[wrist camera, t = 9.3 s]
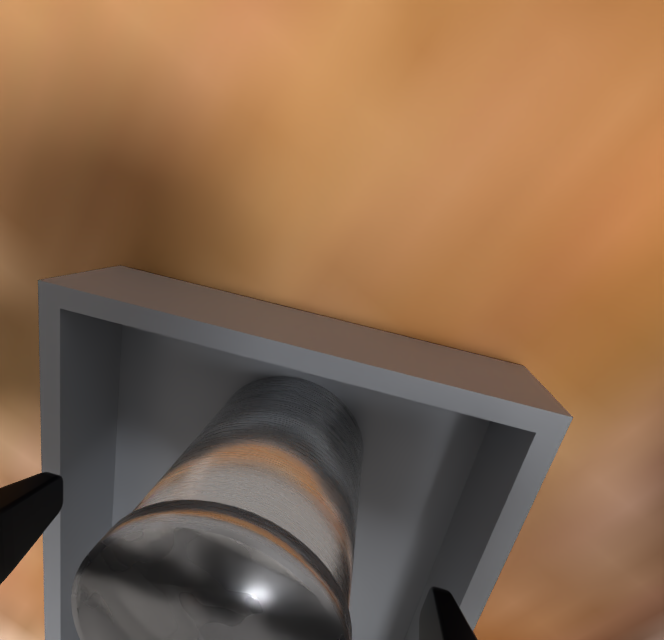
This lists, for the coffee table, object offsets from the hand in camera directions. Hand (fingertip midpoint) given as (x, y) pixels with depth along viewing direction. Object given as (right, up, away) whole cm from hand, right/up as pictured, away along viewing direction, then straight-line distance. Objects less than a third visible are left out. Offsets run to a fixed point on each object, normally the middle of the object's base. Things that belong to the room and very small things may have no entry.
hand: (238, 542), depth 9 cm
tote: (0, -2, +5) cm, 6 cm away
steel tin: (+1, +1, +4) cm, 4 cm away
